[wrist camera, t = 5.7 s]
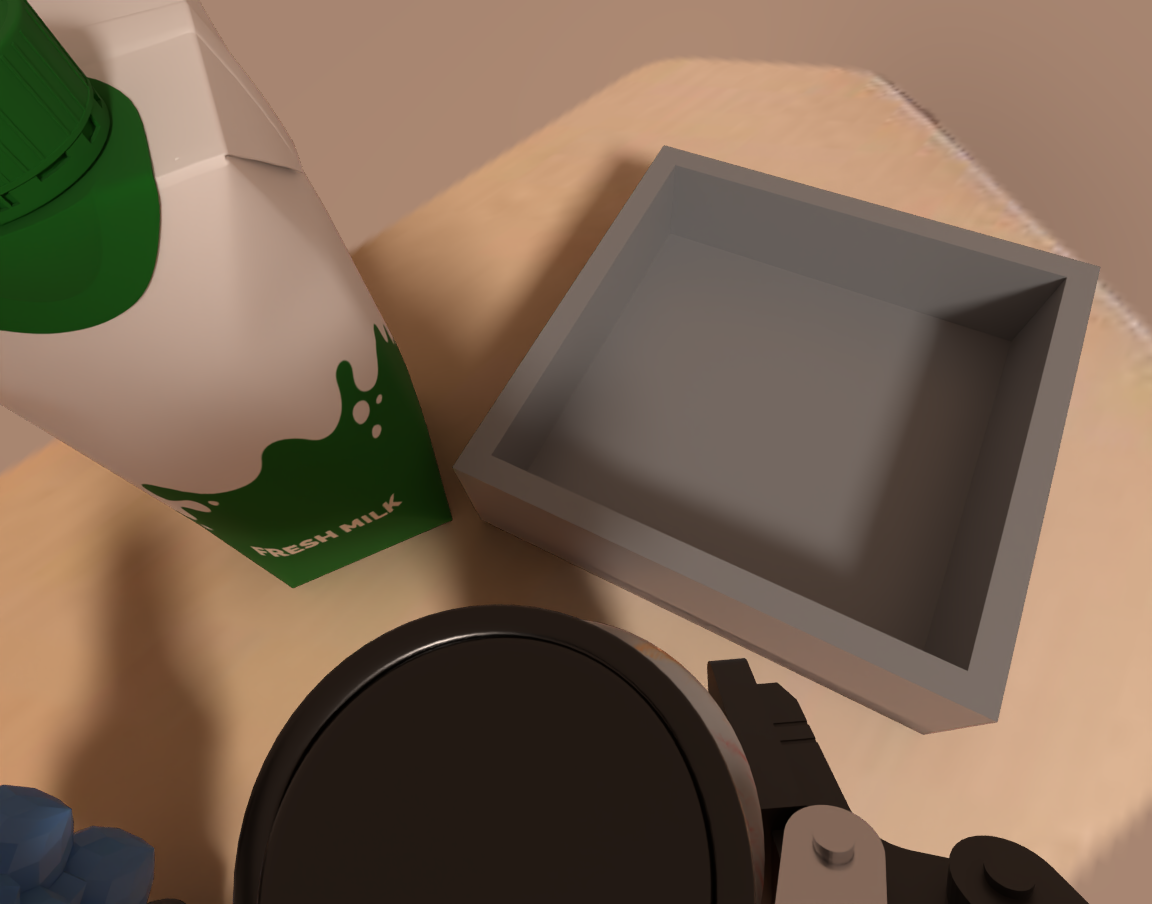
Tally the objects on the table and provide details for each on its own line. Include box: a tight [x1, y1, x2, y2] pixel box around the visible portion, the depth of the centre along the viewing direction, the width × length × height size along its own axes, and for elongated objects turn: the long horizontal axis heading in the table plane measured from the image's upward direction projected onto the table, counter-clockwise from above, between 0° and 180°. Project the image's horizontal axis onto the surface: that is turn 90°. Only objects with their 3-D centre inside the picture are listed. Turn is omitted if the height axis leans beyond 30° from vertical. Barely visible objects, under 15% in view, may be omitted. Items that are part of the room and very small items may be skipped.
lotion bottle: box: [233, 604, 765, 904], centre depth 13 cm, size 6×6×20 cm
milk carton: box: [0, 0, 452, 588], centre depth 19 cm, size 9×9×20 cm
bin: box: [452, 145, 1100, 735], centre depth 26 cm, size 18×18×5 cm
